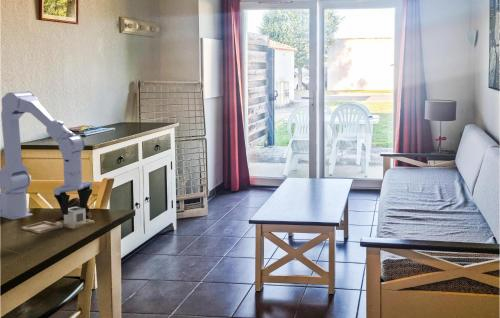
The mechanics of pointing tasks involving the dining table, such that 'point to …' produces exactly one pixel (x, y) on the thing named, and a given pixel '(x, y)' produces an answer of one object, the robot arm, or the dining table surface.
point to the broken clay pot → (76, 203)
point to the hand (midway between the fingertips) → (74, 212)
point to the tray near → (42, 227)
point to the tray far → (75, 225)
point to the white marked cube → (75, 216)
